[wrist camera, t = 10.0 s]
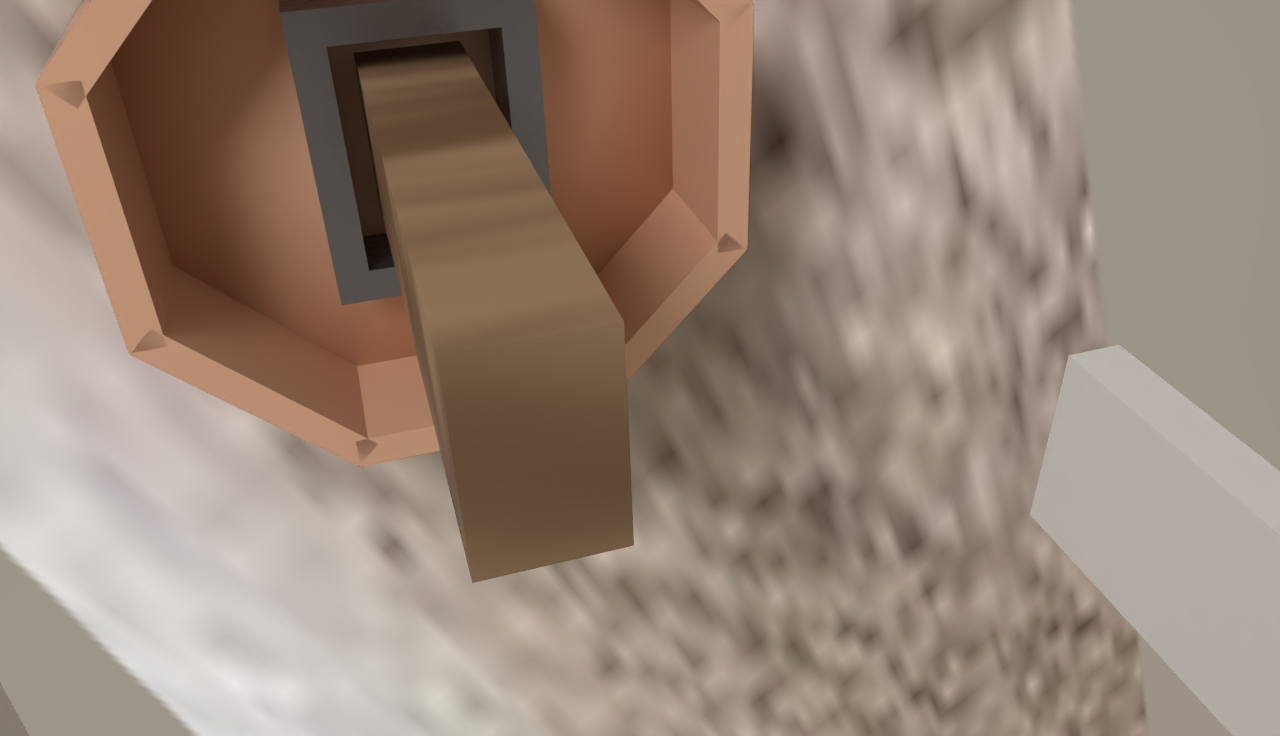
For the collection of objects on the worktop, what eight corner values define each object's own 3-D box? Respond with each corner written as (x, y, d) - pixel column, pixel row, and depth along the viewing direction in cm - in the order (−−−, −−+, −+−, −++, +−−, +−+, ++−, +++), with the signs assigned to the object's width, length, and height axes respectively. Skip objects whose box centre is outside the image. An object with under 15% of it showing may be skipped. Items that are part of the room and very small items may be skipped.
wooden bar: (353, 52, 25) (436, 355, 14) (459, 40, 25) (624, 321, 14) (381, 209, 27) (472, 583, 16) (478, 195, 28) (633, 545, 16)
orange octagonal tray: (-1, -193, 21) (-53, -168, 18) (685, -232, 25) (760, -219, 21) (189, 402, 29) (180, 503, 26) (689, 311, 33) (743, 389, 29)
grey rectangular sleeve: (277, -10, 24) (279, 12, 22) (516, -33, 25) (533, -14, 23) (336, 269, 28) (341, 305, 26) (540, 236, 29) (557, 269, 27)
